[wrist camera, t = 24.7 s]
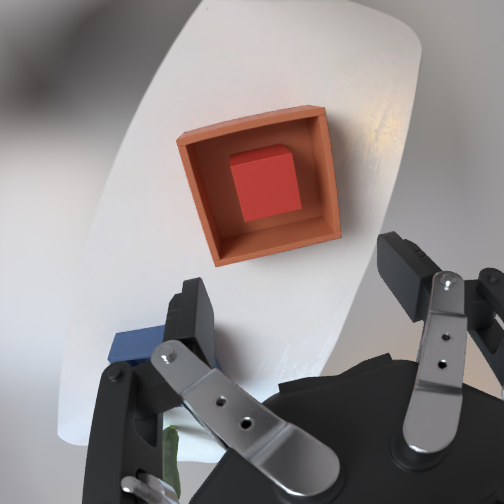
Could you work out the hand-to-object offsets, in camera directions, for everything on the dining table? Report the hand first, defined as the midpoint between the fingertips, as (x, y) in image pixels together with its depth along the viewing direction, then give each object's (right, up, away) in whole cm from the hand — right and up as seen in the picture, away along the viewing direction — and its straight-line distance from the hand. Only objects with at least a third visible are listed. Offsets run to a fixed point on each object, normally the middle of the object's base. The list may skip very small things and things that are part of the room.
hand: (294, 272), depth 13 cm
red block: (-1, +8, +13) cm, 16 cm away
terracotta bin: (-1, +8, +14) cm, 16 cm away
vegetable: (-16, -30, +34) cm, 48 cm away
